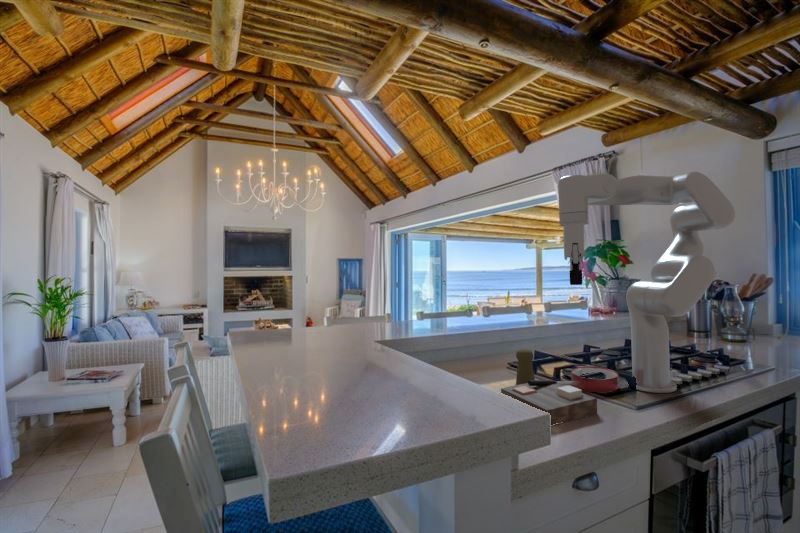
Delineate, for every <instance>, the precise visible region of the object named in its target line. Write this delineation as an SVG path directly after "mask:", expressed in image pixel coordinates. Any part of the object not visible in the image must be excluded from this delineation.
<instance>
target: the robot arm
mask: <svg viewBox="0 0 800 533" xmlns="http://www.w3.org/2000/svg"><path fill="white" fill-rule="evenodd" d="M557 182H558V183H557V184H558V185H557V188H558V189H557V190H558V191H557V192H558V194H557V195H558V214H559V215H558V216H559V220H558V221H559V227H563V232H562V234H563V236H562V237H563V257H564V260H565V261H568V259H569V264H570V265H569V266H570V267H569V268H570V269H569V285H571V286H580V285H583V270H582V260H583V259H584V256H585V254H584V253H585V225H589V224H590V223H589V222H590V221H589V206H633V205H634V206H636V205H639V206H640V205H644V206H646V205H647V206H648V205H649V206H673V205H680V206H678V207H676V208H675V209H674V210H673V211H672V212H671V214H670V219H669V222H670V227H671V231H672V232H671V233H672V241H671V243H670V245H668V247H667V248H666V250H665V251H664V252H663V253H662V255H661V256H660V257H659V258H658V260H656V262H655V263H654V265H653V266H652V268H651V271H650V276H651V278H652V280H639V281H635V282H633V283H632V284H630V286H628V288H627V290H626V293H625V294H626V295H625V301H626V304H627V310H628V312H629V313H628V314H629V318H630V319H629V321H630V337H631V338H630V340H631V367H632V368H631V370H632V377H633V376H634V377H635V378H636V383H637V385H636V389H635V390H637V391H641V392H642V391H643V392H645V393H658V394H668V393H673V392H676V391H677V390H678V388H677V387H678V385H677V384H676V383H675V382H674V381H672V379H673V378H675V377H678V376H680V375H679V372H678V370H677V369H673V370H671V368H670V366H671V365H670V364H671V362H670V361H671V360H670V338H669V336H670V332H669V325H668V321H667V320H666V318H665V316H667V317H674V318H675V317H682V316H684V315H686V314H688V313H689V312H690V311H691V310H692V309H693V308H694V306H696V304H697V303H698V301H699V300H700V299H701V298H702V297H703V295H704V294H705V293H706V292H707V290H708V289H710V286H711V284H713V281H714V279H715V273H716V269H715V264H714V263H713V261H712V260H711V259H710V258H708V257H707V256H704V255H703V253H704V252H705V251H704V250H705V248H704V244H703V242H702V240H701V237H700V235H699V231H701V232H702V231H711V230H721V229H724V228H727V227H728V226H730V225H731V224H733V222H734V220H735V216H736V210H735V207H734V206H733V203H731V201H730V200H729V198H728V197H727V196H726V195H725V194H724V193H723V191H722V190H721V189H720V188H719V187H718V186H717V184H715V183H714V181H712V179H710V178H709V177H708V176H707V175H705V174H704V173H702V172H700V171H690V172H686V173H681V174H677V175H671V176H665V175H664V176H663V175H645V174H644V175H643V174H642V175H641V174H639V175H631V176H625V177H622V178H616V177H615V176H614V175H613V174H610V173H602V172H600V173H596V174H589V175H587V174H586V175H583V174H572V175H571V174H570V175H565V176H563V177H562V176H561V178H559V180H558V181H557ZM692 202H693V203H692ZM686 203H688V204H686ZM681 204H683V205H681ZM626 384H627V386H629V384H628V382H627V381H626Z"/></svg>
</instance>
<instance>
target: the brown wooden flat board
mask: <svg viewBox="0 0 800 533" xmlns="http://www.w3.org/2000/svg"><path fill="white" fill-rule="evenodd" d="M544 380H547V378H546V379H544ZM522 386H527V387H529V388H532V389H534V390H536V393H533V394H528V395H524V396H523V395H521V394H518V393H516V392H514V391H513V388H517V387H522ZM564 386H565V385H560V384H557V383H555V384H551V385H545V386H529V385H528V383H525V384H520V385H516V384H515V385H510V386H505V387H502V388H500V394H501V393H503V394H505V395H508V396H511V397H512V398H514V399H517V400H519V401H521V402H523V403H526V404H528V405H530V406H532V407H535V408H537V409H540V410H542V411H545V412H548V413H550V415H551V425H553V424H556V423H561V422H565V423H567V422H566V421H568V422H571V420H572V421H575V420H579V419H580V420H581V419H583V418H587V417H590V416H594V415H598V398H596V397H594V396H592V395H590V394H586V393H583V392H582V397H579V398H575V399H571V400H569V399H566V398H564V397H562V396H559V395H557V388H559V387H564ZM561 424H562V423H561ZM553 426H554V425H553Z"/></svg>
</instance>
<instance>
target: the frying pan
mask: <svg viewBox="0 0 800 533" xmlns="http://www.w3.org/2000/svg"><path fill="white" fill-rule="evenodd" d="M590 372H602V373H604V374H605V375H606V379H592V378H585V377H580V375H582V374H586V373H590ZM619 376H620V375H619V372H617V371H616V370H612V369H611V368H610V369H609V368H607V367H606V368H605V367H600V366H579V367H574V368H572V369H571V370H570V380H563V381H561V380H560V381H559V380H558V381H557V380H552V379H551V380H549V379H546V380H545V379H540V380H539V379H535V380H529V381H528V385H529V386H545V385H551V384H555V383H557V384H560V385H562V386H568V385H570V386H572V387H575V388H578V389H581V390H582V392H586V391H587V393H591V392H609V391H614V390H617V389H618V390H619V388H620V384H619V383H620V382H619V381H620V379H619ZM618 390H617V391H618Z"/></svg>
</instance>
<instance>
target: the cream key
mask: <svg viewBox="0 0 800 533" xmlns="http://www.w3.org/2000/svg"><path fill="white" fill-rule="evenodd" d="M563 386H564V387H559V388H557V395H559V396H562V397H564V398H566V399H569V400H571V399H575V398H579V397H582V393H583V391H582V390H581V389H578V388H575V387H573V385H563Z"/></svg>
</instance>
